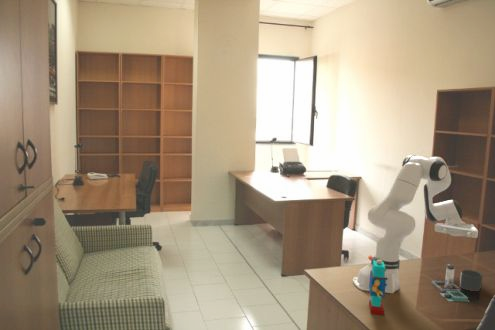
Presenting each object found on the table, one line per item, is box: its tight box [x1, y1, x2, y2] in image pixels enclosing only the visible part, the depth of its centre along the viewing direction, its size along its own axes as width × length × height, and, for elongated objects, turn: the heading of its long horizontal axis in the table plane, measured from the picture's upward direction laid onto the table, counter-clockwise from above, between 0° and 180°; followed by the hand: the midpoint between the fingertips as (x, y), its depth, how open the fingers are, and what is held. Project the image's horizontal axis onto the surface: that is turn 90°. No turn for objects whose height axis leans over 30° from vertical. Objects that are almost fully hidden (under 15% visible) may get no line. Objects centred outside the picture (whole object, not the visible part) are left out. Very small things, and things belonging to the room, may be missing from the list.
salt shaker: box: [444, 263, 457, 289], centre depth 204 cm, size 4×4×12 cm
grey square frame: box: [431, 280, 460, 293], centre depth 205 cm, size 10×10×2 cm
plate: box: [439, 291, 470, 302], centre depth 194 cm, size 10×8×2 cm
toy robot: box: [368, 255, 386, 316], centre depth 178 cm, size 12×6×25 cm, turn 168°
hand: (456, 233), depth 211 cm, fingers open, 8 cm apart
